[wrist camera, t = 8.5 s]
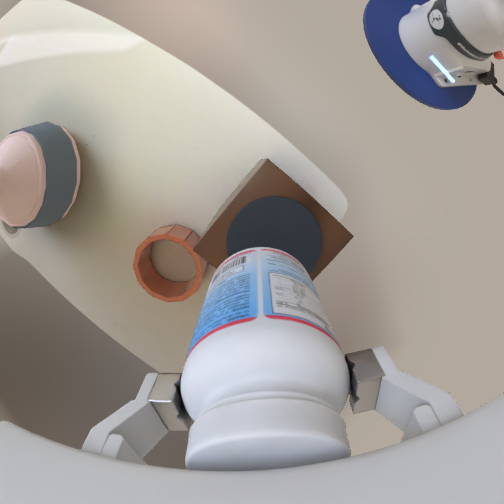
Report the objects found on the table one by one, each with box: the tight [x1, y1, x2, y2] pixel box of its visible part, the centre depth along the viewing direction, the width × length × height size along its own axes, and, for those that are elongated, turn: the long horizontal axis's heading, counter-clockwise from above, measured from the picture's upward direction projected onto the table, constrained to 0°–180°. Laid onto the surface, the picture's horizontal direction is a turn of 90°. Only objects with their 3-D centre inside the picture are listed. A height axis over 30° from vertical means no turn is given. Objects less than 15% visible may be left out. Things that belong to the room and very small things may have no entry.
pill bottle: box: [181, 247, 351, 471], centre depth 11 cm, size 6×6×11 cm
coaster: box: [226, 196, 322, 274], centre depth 23 cm, size 8×8×1 cm
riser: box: [193, 159, 353, 281], centre depth 33 cm, size 10×10×19 cm
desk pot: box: [133, 224, 208, 302], centre depth 42 cm, size 11×11×6 cm
